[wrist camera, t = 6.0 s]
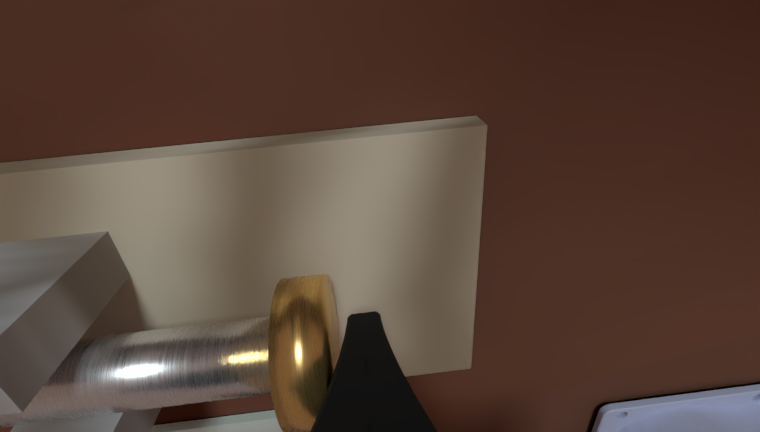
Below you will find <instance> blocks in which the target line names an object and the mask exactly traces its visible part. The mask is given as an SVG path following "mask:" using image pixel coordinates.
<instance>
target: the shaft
mask: <svg viewBox="0 0 760 432" xmlns="http://www.w3.org/2000/svg"><path fill="white" fill-rule="evenodd" d="M339 354H340V345H339V334H338V324H337V316H336V308H335V302H334V296H333V291H332V286H331V283H330V279H329V277H328V275H327V274H326V273H325V274H316V275H308V276H299V277H290V278H283V279H281V280H280V281H279V282H278V284H277V285H276V288H275V291H274V294H273V299H272V303H271V310H270V316H267V317H259V318H250V319H242V320H233V321H225V322H216V323H208V324H199V325H191V326H182V327H174V328H165V329H157V330H148V331H140V332H131V333H123V334H114V335H106V336H97V337H89V338H80V340H79V341H78V342H77V344H76V345H75V346H74V347H73V349H72V350H71V351H70V352H69V354H68V355H67V356H66V358H65V359H64V360H63V361H62V363H61V364H60V365H59V366H58V368H57V369H56V370H55V372H54V373H53V374H52V375H51V377H50V378H49V379H48V380H47V382H46V383H45V384H44V386H43V387H42V388H41V389H40V391H39V392H38V393H37V395H36V396H35V397H34V398H33V400H32V401H31V402H30V403H29V405H28V406H27V407H26V409H25V410H24V411H23V412H20V413H12V414H4V415H0V428H2V427H10V426H18V425H26V424H34V423H42V422H50V421H58V420H66V419H73V418H81V417H89V416H97V415H105V414H113V413H121V412H129V411H137V410H145V409H153V408H161V407H169V406H177V405H185V404H193V403H201V402H209V401H217V400H225V399H233V398H241V397H249V396H257V395H264V394H272V400H273V405H274V410H275V414H276V417H277V421H278V423H279V426H280V428H281V430H282V431H283V432H310V431H311V429H312V427H313V425H314V422H315V420H316V418H317V415H318V413H319V410H320V408H321V405H322V403H323V400H324V398H325V395H326V393H327V390H328V388H329V385H330V382H331V379H332V376H333V373H334V370H335V367H336V364H337V361H338V358H339Z"/></svg>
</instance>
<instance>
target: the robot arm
mask: <svg viewBox="0 0 760 432" xmlns="http://www.w3.org/2000/svg"><path fill="white" fill-rule="evenodd" d="M310 432H437V430H436V429H435V427H434V426H433V424H432V422H431V421H430V419H429V418H428V416H427V414H426V413H425V411H424V410H423V408H422V406H421V404H420V403H419V401H418V399H417V398H416V396H415V394H414V393H413V391H412V389H411V387H410V385H409V383H408V382H407V380H406V378H405V376H404V374H403V372H402V370H401V368H400V366H399V364H398V362H397V360H396V358H395V355H394V353H393V351H392V349H391V346H390V344H389V341H388V339H387V336H386V334H385V331H384V328H383V324H382V321H381V316H380V314H379V313H378V312H376V311H374V312H366V313H357V314H351V315H350V316H349V317H348V318H347V326H346V331H345V336H344V340H343V344H342V347H341V351H340V354H339V358H338V361H337V364H336V367H335V370H334V373H333V376H332V379H331V382H330V385H329V388H328V390H327V393H326V395H325V398H324V400H323V403H322V405H321V408H320V410H319V413H318V415H317V418H316V420H315V422H314V425H313V427H312V429H311V431H310ZM592 432H760V384H755V385H747V386H740V387H732V388H724V389H717V390H709V391H702V392H694V393H686V394H679V395H671V396H663V397H656V398H648V399H641V400H633V401H625V402H618V403H610V404H606V405H604V406H602V407H601V408H600V410H599V412H598V415H597V417H596V420H595V423H594V426H593V429H592Z"/></svg>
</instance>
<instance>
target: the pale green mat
mask: <svg viewBox="0 0 760 432" xmlns="http://www.w3.org/2000/svg"><path fill="white" fill-rule="evenodd" d="M151 432H283V431H282V430H281V428H280V426H279V423H278V421H277V417H276V414H275V410H270V411H263V412H255V413H247V414H239V415H231V416H223V417H215V418H208V419H200V420H192V421H184V422H176V423H168V424H160V425H154V426H153V428H152V430H151Z"/></svg>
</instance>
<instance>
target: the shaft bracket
mask: <svg viewBox="0 0 760 432" xmlns="http://www.w3.org/2000/svg"><path fill="white" fill-rule="evenodd" d="M486 139H487V124H485V123H484V122H483V121H482V120H481V119H479V118H478V117H477V116H468V117H458V118H448V119H438V120H428V121H418V122H408V123H398V124H388V125H378V126H368V127H358V128H347V129H337V130H327V131H317V132H307V133H297V134H287V135H277V136H267V137H257V138H247V139H237V140H227V141H217V142H207V143H197V144H187V145H177V146H167V147H156V148H146V149H136V150H126V151H116V152H106V153H96V154H86V155H76V156H66V157H56V158H46V159H36V160H26V161H16V162H6V163H0V415H4V414H12V413H20V412H23V411H24V410H25V409H26V407H27V406H28V405H29V403H30V402H31V401H32V400H33V398H34V397H35V396H36V395H37V393H38V392H39V391H40V389H41V388H42V387H43V386H44V384H45V383H46V382H47V380H48V379H49V378H50V377H51V375H52V374H53V373H54V372H55V370H56V369H57V368H58V366H59V365H60V364H61V363H62V361H63V360H64V359H65V358H66V356H67V355H68V354H69V352H70V351H71V350H72V349H73V347H74V346H75V345H76V344H77V342H78V341H79V340H80V338H89V337H97V336H106V335H114V334H123V333H131V332H140V331H148V330H157V329H165V328H174V327H182V326H191V325H199V324H208V323H216V322H225V321H233V320H242V319H250V318H259V317H267V316H270V310H271V303H272V299H273V294H274V291H275V288H276V285H277V284H278V282H279V281H280V280H281V279H283V278H290V277H299V276H308V275H316V274H325V273H326V274H327V275H328V277H329V279H330V283H331V286H332V291H333V296H334V302H335V308H336V316H337V324H338V334H339V345H340V351H341V347H342V344H343V340H344V336H345V331H346V326H347V318H348V317H349V316H350V315H351V314H357V313H366V312H374V311H376V312H378V313H379V314H380V316H381V321H382V324H383V328H384V331H385V334H386V336H387V339H388V341H389V344H390V346H391V349H392V351H393V353H394V355H395V358H396V360H397V362H398V364H399V366H400V368H401V370H402V372H403V374H404V376H405V377H406V376H414V375H422V374H430V373H438V372H446V371H454V370H462V369H470V368H471V360H472V345H473V330H474V316H475V301H476V286H477V271H478V257H479V242H480V227H481V213H482V198H483V183H484V168H485V154H486ZM161 408H162V407H161ZM161 408H153V409H145V410H137V411H129V412H121V413H113V414H105V415H97V416H89V417H81V418H73V419H66V420H58V421H50V422H42V423H34V424H26V425H18V426H14V427H13V429H12V430H11V431H10V432H151V430H152V428H153V426H154V423H155V421H156V419H157V417H158V414H159V412H160V410H161Z"/></svg>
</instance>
